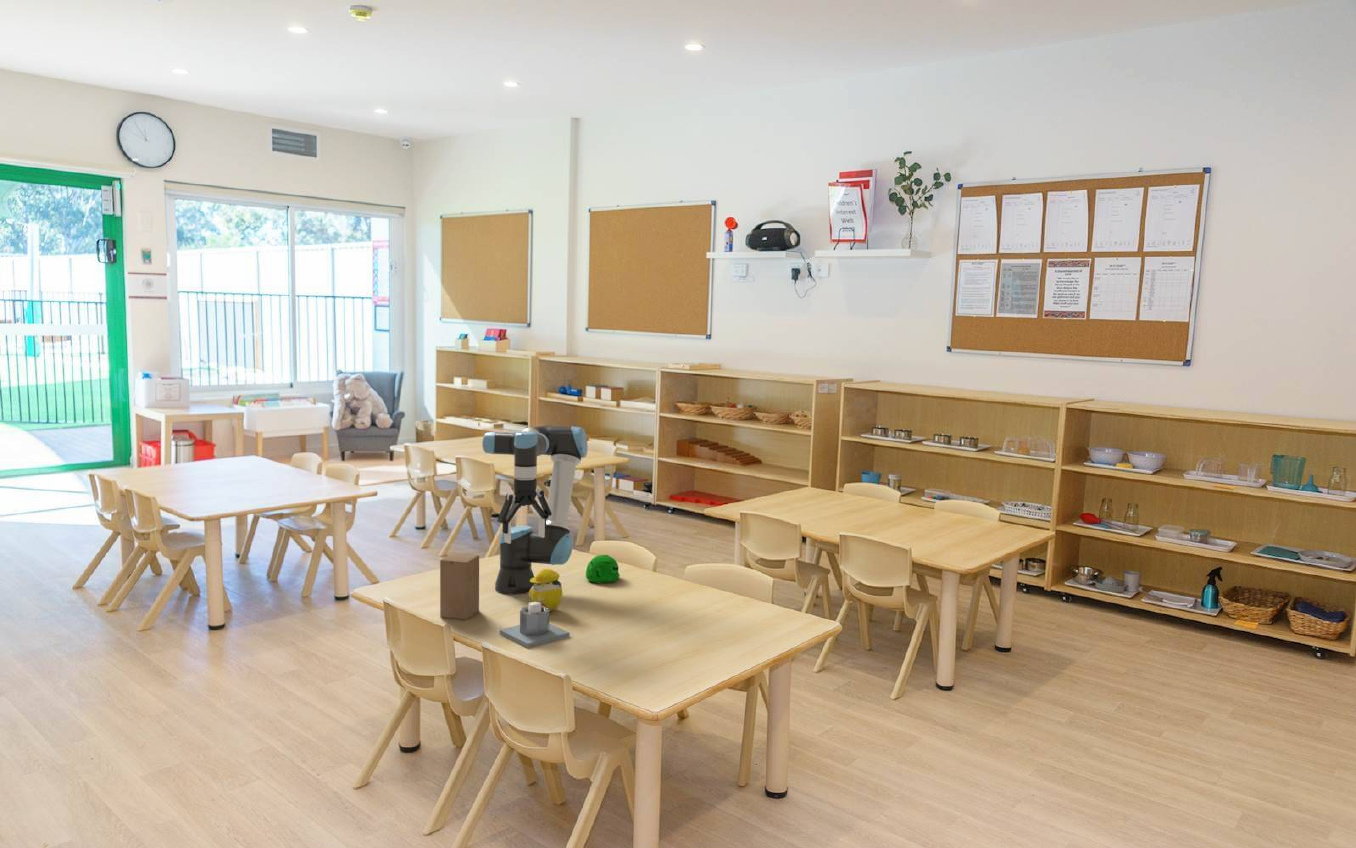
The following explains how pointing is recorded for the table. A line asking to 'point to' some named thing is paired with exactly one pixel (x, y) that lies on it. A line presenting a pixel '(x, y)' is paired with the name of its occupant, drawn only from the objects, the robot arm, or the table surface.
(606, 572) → the toy
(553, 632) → the piston post
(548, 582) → the toy
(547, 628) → the collar ring
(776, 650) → the table surface
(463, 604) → the wooden block
